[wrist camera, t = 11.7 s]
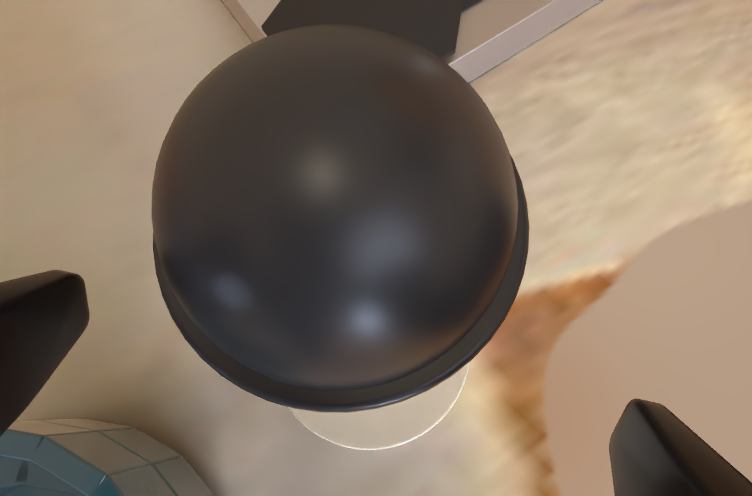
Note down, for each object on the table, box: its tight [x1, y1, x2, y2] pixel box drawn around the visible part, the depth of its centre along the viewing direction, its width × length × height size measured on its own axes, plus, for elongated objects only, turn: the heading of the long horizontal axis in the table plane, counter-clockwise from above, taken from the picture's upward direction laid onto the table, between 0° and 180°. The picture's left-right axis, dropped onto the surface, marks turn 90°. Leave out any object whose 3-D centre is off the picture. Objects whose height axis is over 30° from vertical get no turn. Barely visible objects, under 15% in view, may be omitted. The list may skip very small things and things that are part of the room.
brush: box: [152, 24, 529, 450], centre depth 10 cm, size 6×6×14 cm
